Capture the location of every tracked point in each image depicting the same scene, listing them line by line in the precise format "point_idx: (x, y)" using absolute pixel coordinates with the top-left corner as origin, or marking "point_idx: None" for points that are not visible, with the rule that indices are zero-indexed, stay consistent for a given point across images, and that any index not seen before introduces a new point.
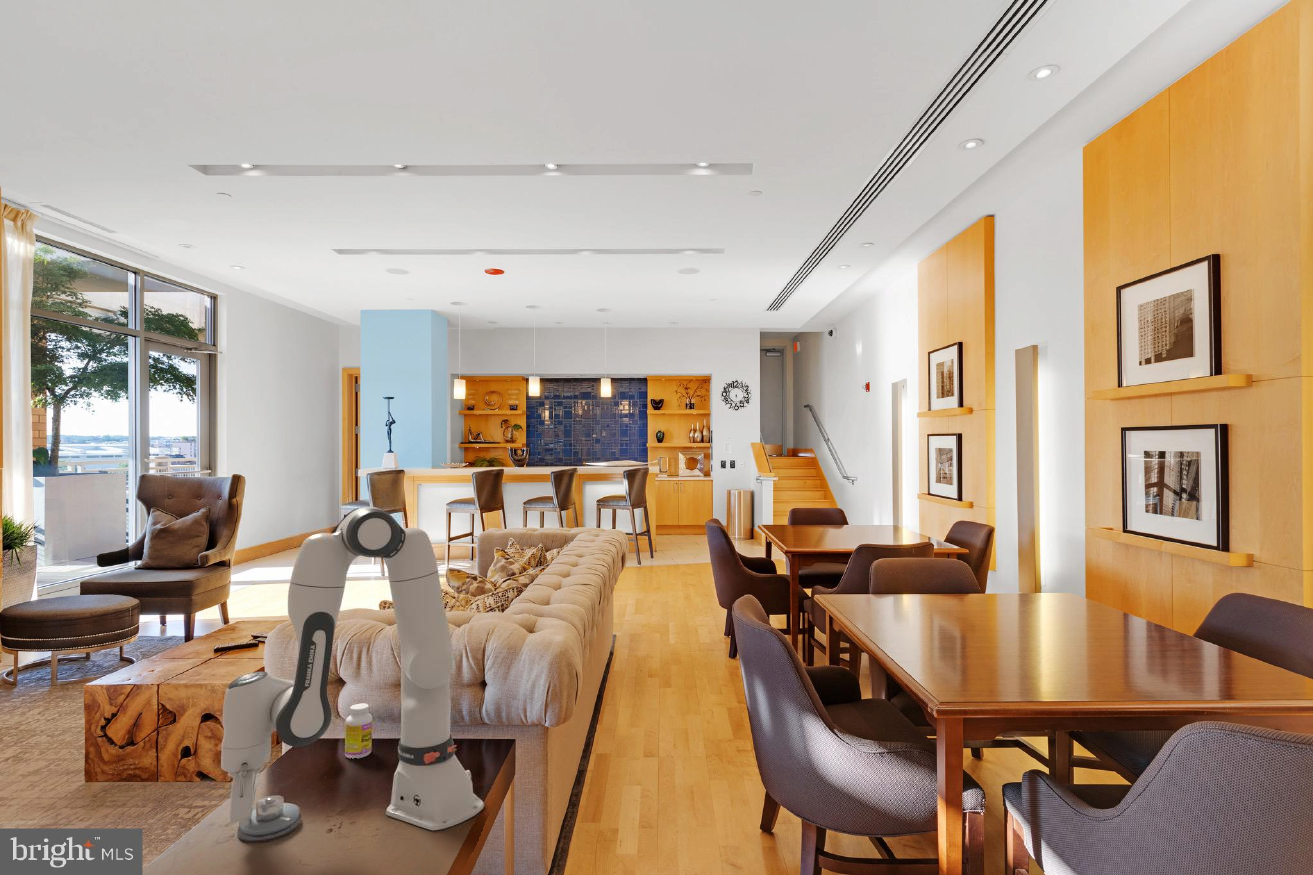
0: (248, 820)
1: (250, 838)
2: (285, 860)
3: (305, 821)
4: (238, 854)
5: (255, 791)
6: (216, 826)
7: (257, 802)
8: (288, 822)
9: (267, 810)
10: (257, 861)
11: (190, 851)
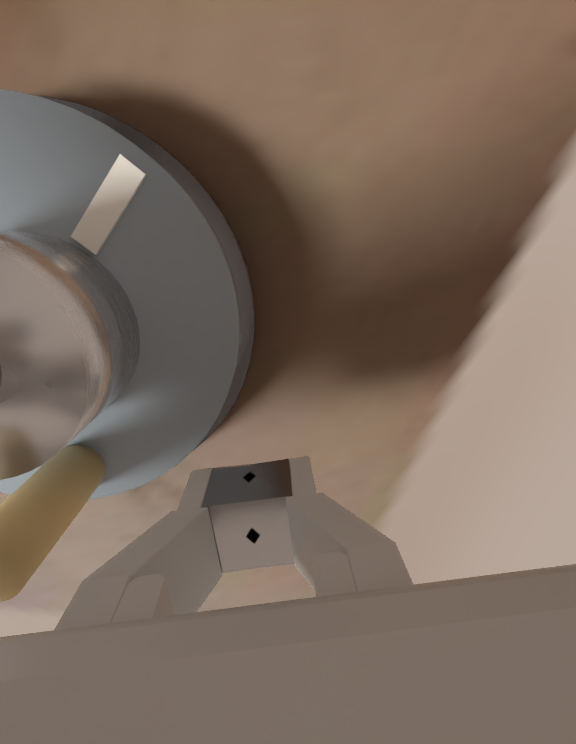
0: (310, 473)
1: (236, 396)
2: (529, 149)
3: (26, 73)
4: (344, 418)
5: (214, 718)
6: None
7: None
8: (160, 168)
9: (99, 356)
10: (461, 312)
11: (238, 605)
